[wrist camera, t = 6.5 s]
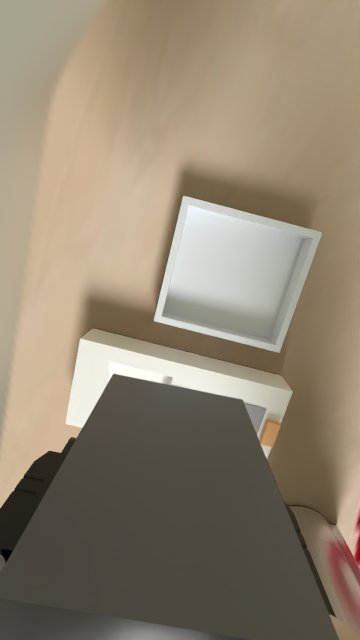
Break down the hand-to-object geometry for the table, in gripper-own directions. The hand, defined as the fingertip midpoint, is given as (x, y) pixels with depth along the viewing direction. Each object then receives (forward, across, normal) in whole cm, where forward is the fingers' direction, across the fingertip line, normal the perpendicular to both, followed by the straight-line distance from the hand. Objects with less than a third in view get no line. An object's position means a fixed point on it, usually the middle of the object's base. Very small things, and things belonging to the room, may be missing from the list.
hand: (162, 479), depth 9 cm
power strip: (+20, -1, +7) cm, 21 cm away
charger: (+2, 0, 0) cm, 2 cm away
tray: (+20, -4, -6) cm, 21 cm away
